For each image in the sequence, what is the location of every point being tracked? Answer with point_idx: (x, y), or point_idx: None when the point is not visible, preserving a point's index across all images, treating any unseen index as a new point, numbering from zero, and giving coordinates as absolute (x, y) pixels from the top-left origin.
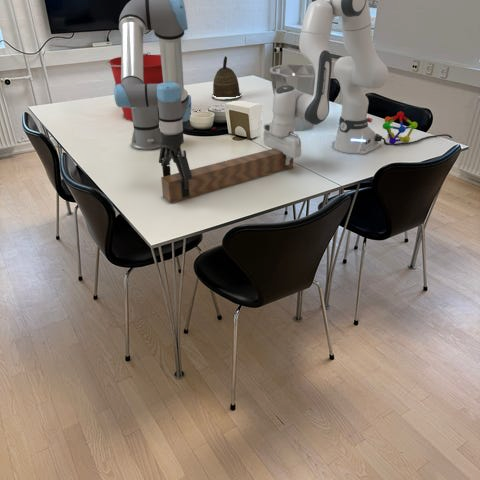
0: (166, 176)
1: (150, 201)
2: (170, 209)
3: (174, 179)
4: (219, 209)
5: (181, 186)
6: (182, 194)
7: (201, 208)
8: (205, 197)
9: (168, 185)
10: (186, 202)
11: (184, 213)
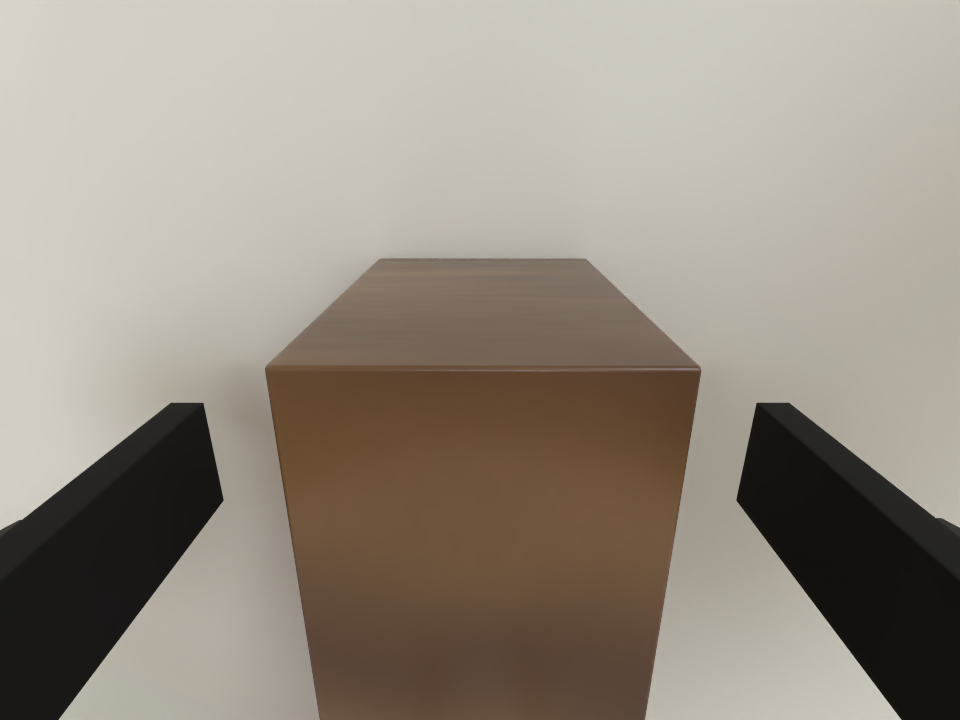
0: (644, 490)
1: (591, 39)
2: (212, 176)
3: (373, 554)
4: None
5: (46, 517)
6: (138, 429)
7: None
8: None
9: (302, 338)
10: None
11: (37, 275)
